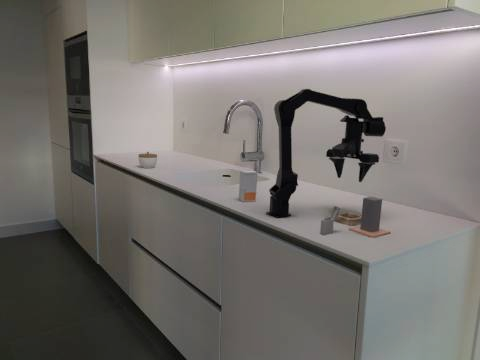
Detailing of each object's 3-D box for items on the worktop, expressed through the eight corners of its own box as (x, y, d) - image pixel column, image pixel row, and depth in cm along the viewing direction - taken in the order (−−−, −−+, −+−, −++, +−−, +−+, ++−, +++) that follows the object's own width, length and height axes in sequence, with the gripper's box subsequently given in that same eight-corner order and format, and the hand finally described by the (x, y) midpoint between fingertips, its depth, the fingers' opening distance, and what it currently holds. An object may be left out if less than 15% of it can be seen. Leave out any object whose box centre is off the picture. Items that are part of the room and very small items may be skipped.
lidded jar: (141, 169, 230) (141, 153, 228) (136, 166, 239) (136, 150, 237) (159, 168, 235) (159, 152, 233) (153, 166, 244) (154, 150, 242)
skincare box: (242, 202, 158) (243, 172, 156) (238, 199, 162) (239, 170, 160) (256, 201, 161) (257, 171, 159) (252, 199, 165) (253, 170, 163)
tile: (348, 230, 126) (348, 228, 126) (366, 226, 132) (366, 224, 132) (373, 238, 119) (373, 236, 119) (390, 233, 125) (390, 231, 125)
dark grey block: (360, 229, 126) (363, 197, 124) (368, 227, 128) (371, 196, 126) (371, 232, 123) (374, 200, 121) (378, 230, 125) (382, 199, 123)
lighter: (324, 235, 120) (326, 209, 119) (319, 233, 121) (321, 208, 120) (338, 231, 124) (341, 206, 123) (334, 230, 126) (336, 205, 124)
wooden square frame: (332, 220, 137) (332, 214, 137) (347, 217, 142) (347, 211, 142) (351, 226, 131) (351, 220, 131) (366, 222, 136) (366, 217, 135)
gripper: (317, 133, 142) (314, 177, 145) (361, 138, 128) (356, 186, 130) (338, 133, 149) (334, 175, 152) (382, 137, 134) (377, 183, 137)
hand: (349, 179), depth 143 cm, fingers open, 9 cm apart
